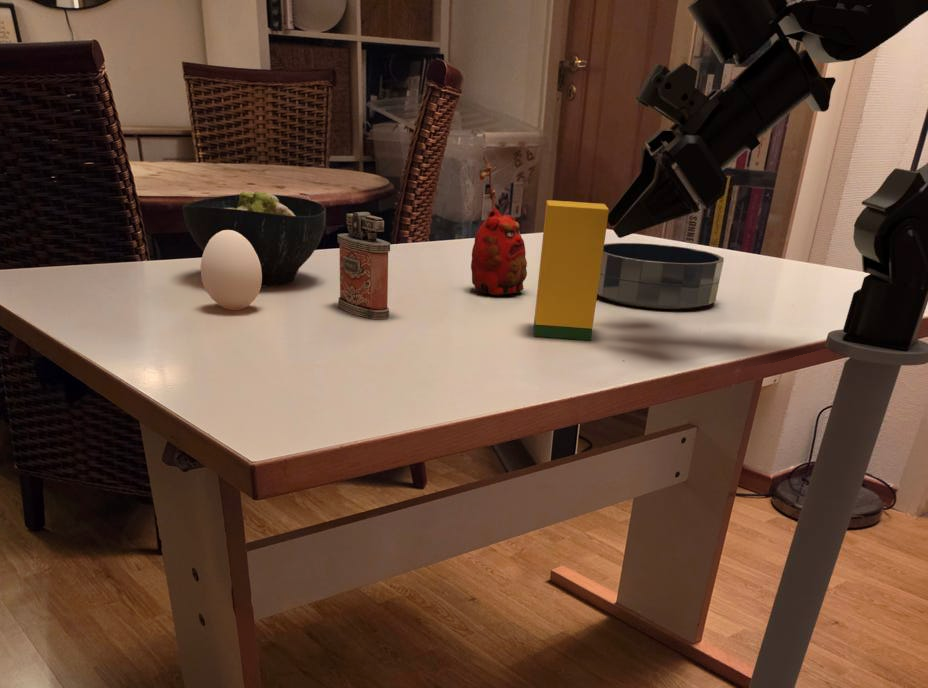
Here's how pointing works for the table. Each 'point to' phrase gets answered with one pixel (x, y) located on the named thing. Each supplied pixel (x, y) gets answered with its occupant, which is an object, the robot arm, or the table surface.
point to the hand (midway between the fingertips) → (611, 227)
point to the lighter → (364, 267)
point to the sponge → (570, 269)
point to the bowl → (262, 228)
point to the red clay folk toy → (498, 251)
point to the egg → (231, 270)
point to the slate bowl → (659, 276)
